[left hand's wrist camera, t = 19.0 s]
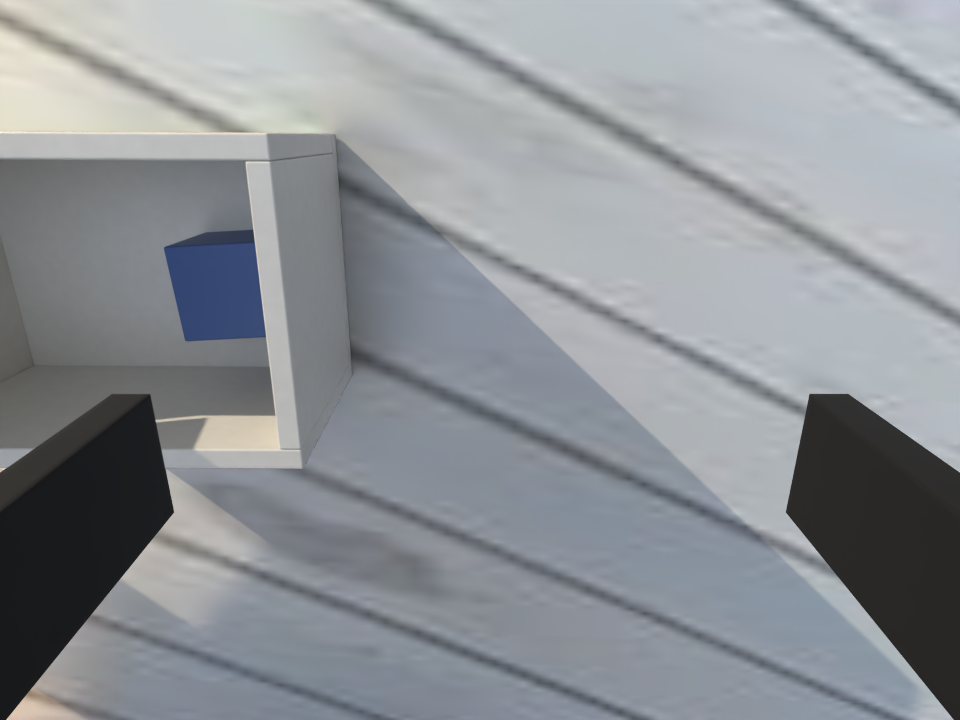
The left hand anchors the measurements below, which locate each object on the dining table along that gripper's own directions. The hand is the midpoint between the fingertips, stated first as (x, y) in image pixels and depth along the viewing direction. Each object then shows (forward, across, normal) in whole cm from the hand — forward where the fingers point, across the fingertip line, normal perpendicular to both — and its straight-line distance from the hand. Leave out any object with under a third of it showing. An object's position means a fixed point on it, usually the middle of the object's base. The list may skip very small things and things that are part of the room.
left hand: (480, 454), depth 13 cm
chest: (+20, +15, 0) cm, 25 cm away
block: (+19, +11, 0) cm, 22 cm away
